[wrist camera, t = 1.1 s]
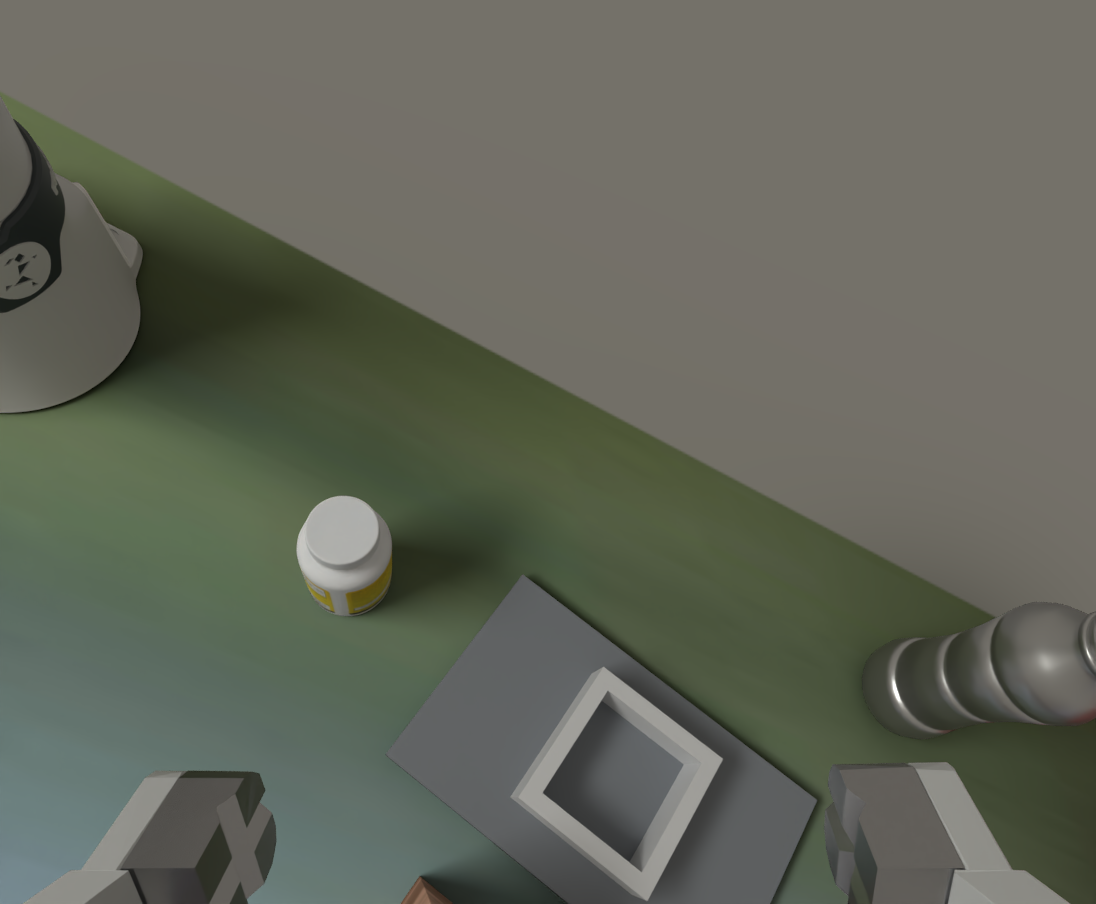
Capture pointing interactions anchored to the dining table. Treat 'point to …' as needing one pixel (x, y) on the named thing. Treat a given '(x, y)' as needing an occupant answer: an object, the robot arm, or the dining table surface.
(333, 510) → the supplement bottle
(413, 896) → the terracotta peg
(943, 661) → the plastic bottle
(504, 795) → the collar board
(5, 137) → the robot arm
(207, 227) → the dining table surface
